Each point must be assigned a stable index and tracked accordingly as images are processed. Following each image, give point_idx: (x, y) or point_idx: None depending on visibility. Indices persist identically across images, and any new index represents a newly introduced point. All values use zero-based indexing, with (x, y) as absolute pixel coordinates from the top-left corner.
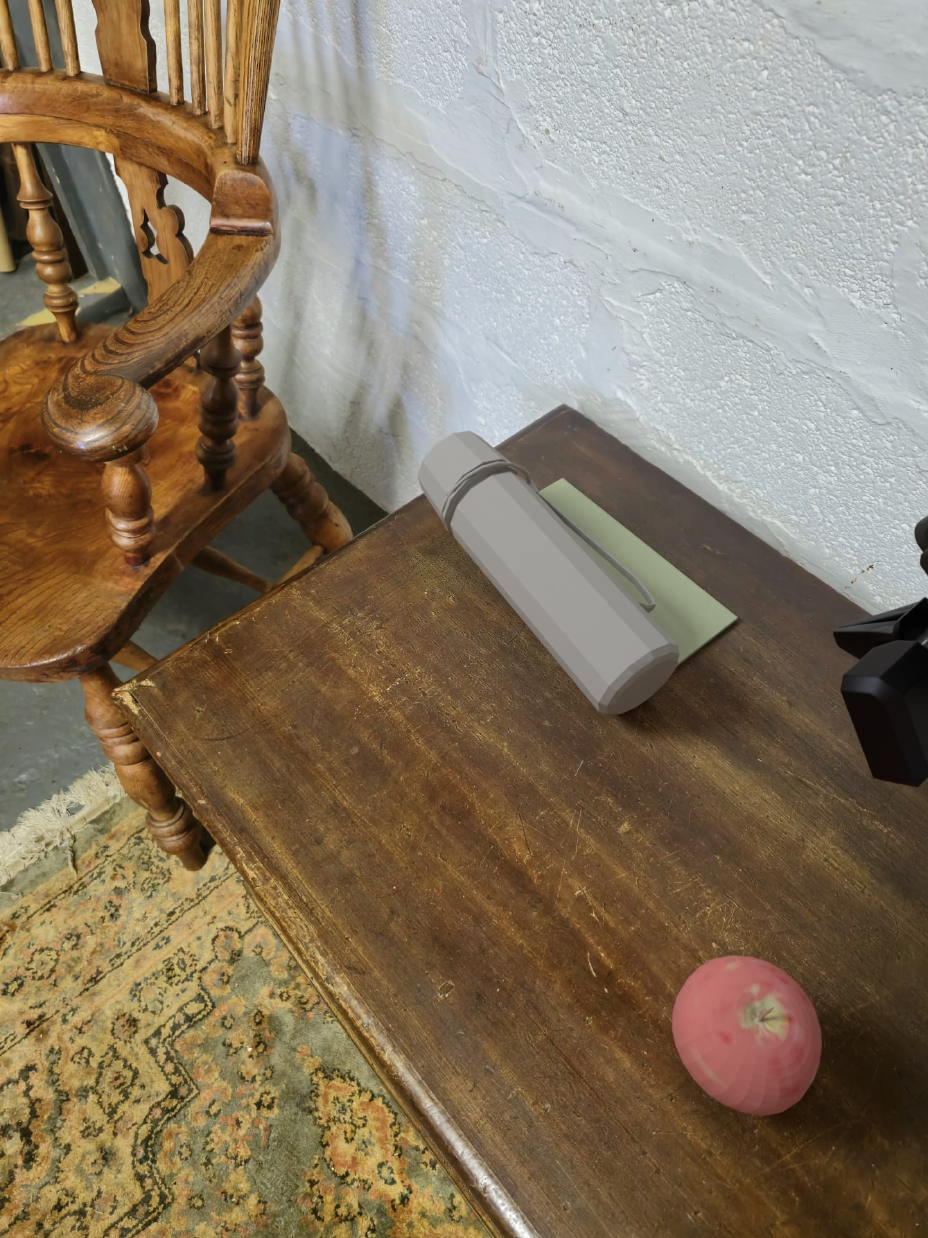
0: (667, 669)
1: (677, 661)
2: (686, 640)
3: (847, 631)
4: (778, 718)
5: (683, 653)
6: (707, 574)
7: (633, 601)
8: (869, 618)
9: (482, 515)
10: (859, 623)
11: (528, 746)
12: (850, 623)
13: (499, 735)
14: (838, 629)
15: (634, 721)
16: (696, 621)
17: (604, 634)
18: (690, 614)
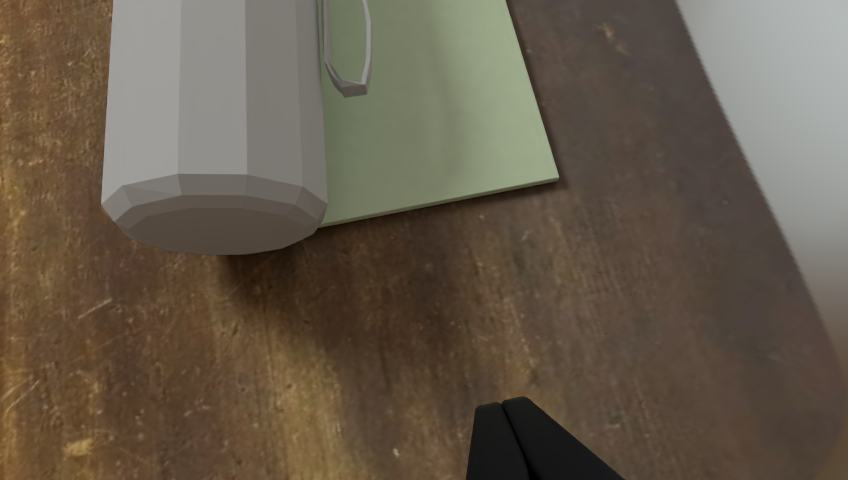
0: (269, 222)
1: (305, 215)
2: (434, 177)
3: (471, 466)
4: (492, 394)
5: (410, 197)
6: (570, 78)
7: (270, 55)
8: (586, 474)
9: None
10: (538, 464)
11: (51, 234)
12: (538, 422)
13: (26, 195)
14: (492, 412)
15: (243, 274)
16: (478, 152)
17: (132, 96)
18: (477, 135)
